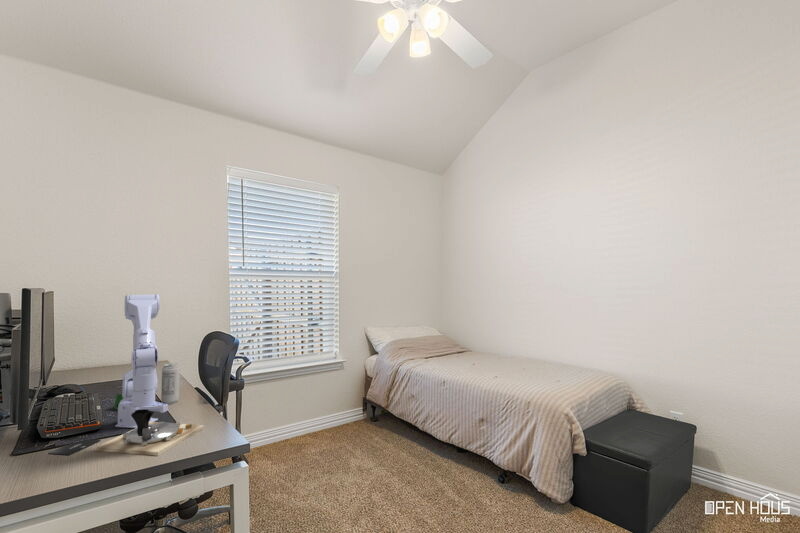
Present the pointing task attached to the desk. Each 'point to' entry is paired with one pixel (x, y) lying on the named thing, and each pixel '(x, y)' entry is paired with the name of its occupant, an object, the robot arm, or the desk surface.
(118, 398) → the clamp
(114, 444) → the board
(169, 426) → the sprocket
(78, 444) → the solid state drive
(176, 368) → the energy drink can
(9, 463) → the desk surface
